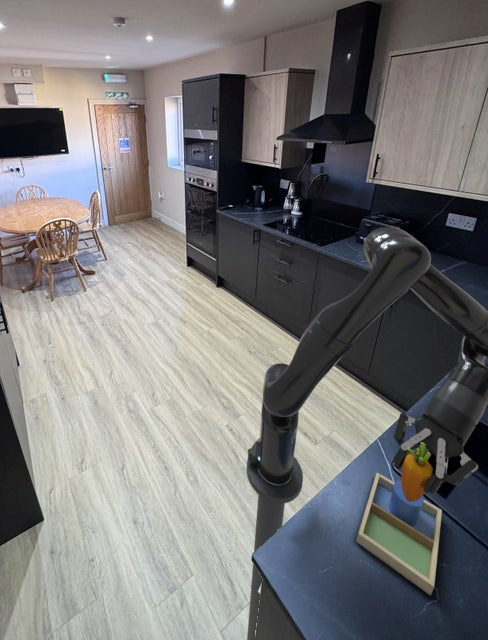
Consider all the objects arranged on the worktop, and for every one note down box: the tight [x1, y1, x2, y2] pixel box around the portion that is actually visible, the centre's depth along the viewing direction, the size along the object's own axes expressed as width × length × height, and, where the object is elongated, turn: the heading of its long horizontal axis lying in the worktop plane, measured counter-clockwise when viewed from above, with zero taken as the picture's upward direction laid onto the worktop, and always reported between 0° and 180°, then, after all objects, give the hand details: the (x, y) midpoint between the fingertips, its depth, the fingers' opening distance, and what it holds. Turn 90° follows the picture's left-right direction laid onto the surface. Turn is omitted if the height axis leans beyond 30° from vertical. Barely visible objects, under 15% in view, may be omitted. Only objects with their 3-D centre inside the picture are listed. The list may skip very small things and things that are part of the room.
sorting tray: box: [356, 472, 443, 596], centre depth 76 cm, size 14×18×3 cm
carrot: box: [400, 442, 434, 502], centre depth 65 cm, size 5×5×15 cm
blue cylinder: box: [389, 479, 425, 526], centre depth 78 cm, size 6×6×7 cm
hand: (411, 479), depth 64 cm, fingers closed on carrot, 5 cm apart
